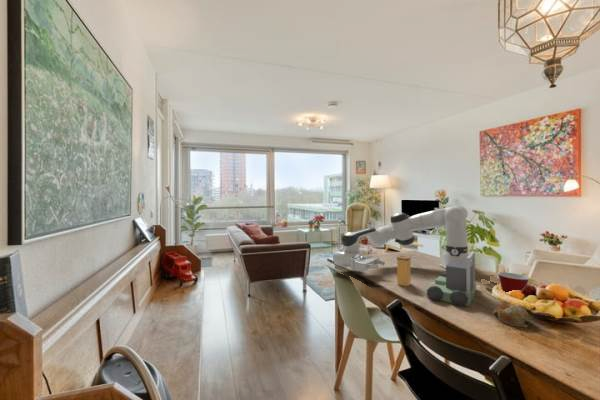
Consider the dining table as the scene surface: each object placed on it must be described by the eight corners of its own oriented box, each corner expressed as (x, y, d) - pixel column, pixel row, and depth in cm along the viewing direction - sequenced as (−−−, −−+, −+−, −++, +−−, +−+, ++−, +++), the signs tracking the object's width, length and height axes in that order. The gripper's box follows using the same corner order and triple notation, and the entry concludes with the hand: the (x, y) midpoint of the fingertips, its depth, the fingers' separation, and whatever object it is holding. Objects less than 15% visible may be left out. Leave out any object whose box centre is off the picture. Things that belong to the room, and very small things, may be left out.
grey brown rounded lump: (514, 338, 92) (527, 321, 89) (485, 315, 100) (496, 299, 97) (529, 331, 97) (541, 315, 94) (500, 309, 105) (510, 294, 102)
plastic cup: (533, 303, 112) (533, 275, 112) (524, 310, 106) (524, 280, 106) (503, 295, 121) (503, 269, 121) (492, 301, 115) (492, 273, 115)
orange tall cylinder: (400, 281, 142) (400, 255, 141) (410, 283, 138) (410, 256, 138) (397, 284, 138) (397, 257, 137) (407, 286, 134) (407, 258, 134)
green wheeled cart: (440, 282, 140) (440, 245, 140) (476, 288, 130) (476, 249, 130) (425, 298, 118) (425, 255, 118) (468, 308, 108) (468, 260, 108)
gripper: (365, 263, 162) (388, 266, 154) (349, 270, 147) (373, 275, 138) (365, 252, 162) (388, 255, 154) (349, 259, 147) (373, 263, 138)
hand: (381, 265), depth 146 cm, fingers open, 8 cm apart
